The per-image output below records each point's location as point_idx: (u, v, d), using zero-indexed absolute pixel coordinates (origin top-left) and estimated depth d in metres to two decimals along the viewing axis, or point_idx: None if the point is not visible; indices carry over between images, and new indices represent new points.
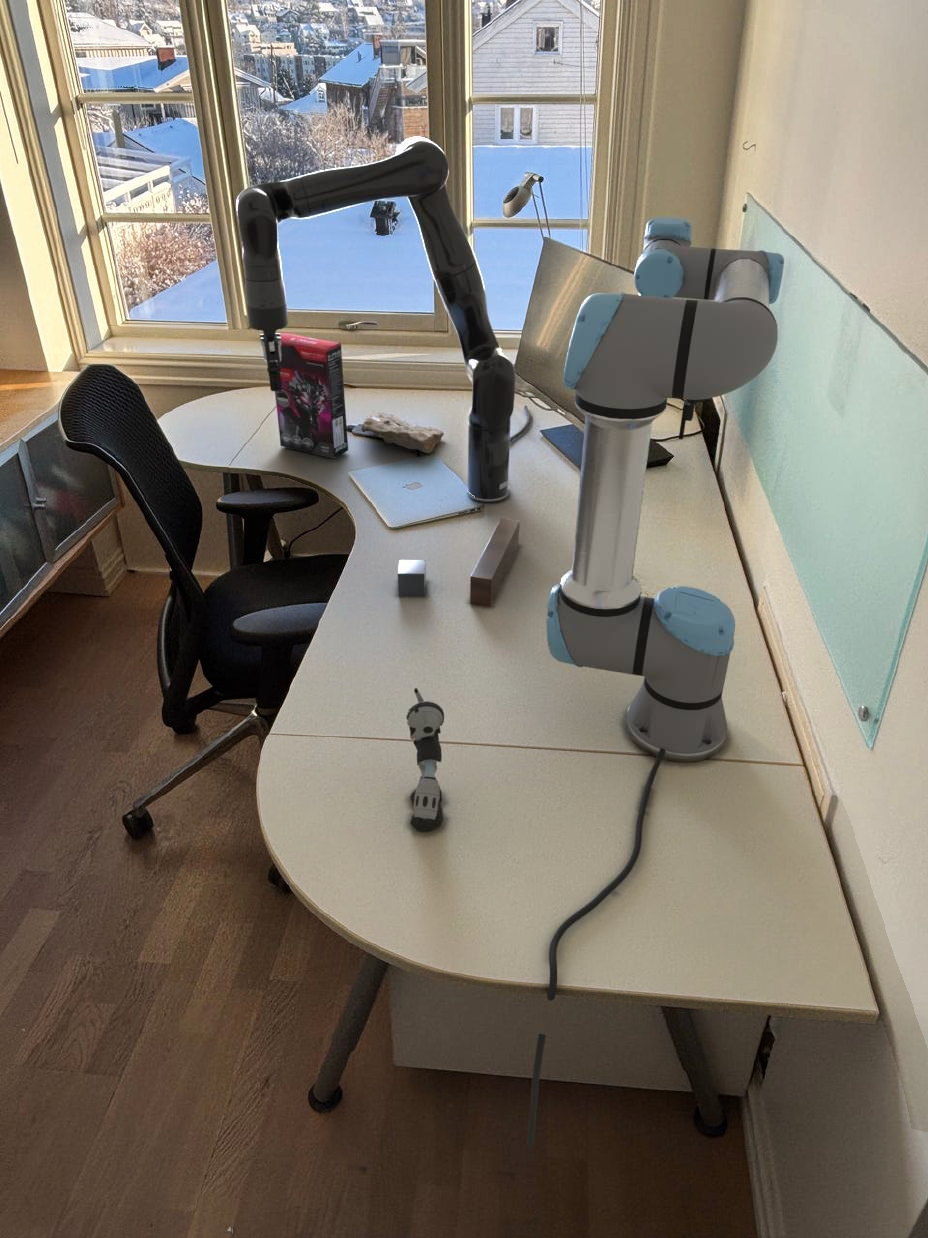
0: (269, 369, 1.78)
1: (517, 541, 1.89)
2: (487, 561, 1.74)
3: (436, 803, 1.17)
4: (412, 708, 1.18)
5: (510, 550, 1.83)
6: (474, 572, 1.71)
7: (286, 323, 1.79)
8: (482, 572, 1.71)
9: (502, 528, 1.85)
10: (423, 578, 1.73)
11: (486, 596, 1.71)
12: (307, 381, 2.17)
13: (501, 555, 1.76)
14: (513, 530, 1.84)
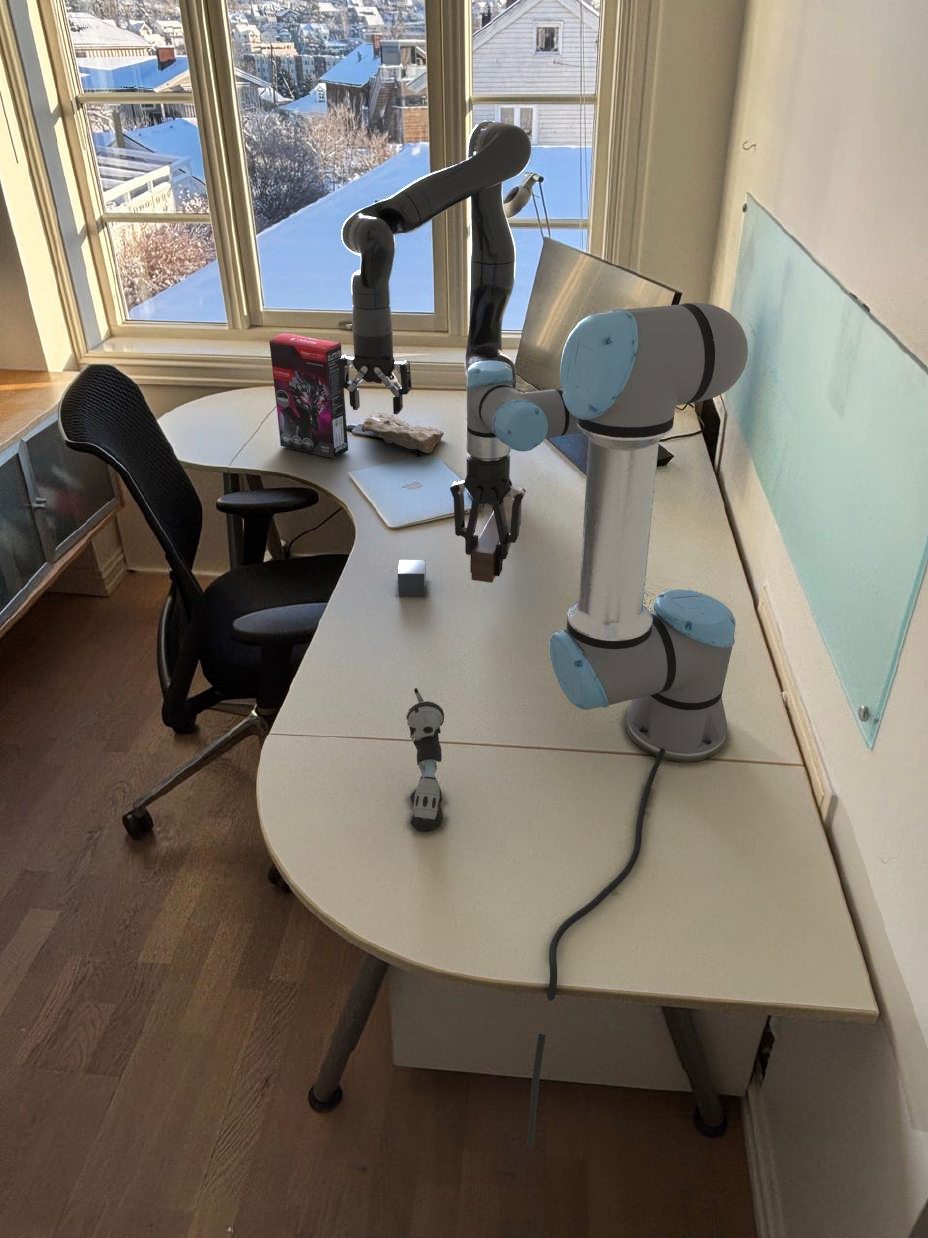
0: (408, 390, 1.78)
1: None
2: (489, 537, 1.71)
3: (436, 803, 1.17)
4: (412, 708, 1.18)
5: None
6: (475, 547, 1.67)
7: None
8: (483, 547, 1.67)
9: (504, 505, 1.82)
10: (423, 578, 1.73)
11: (488, 571, 1.67)
12: (307, 381, 2.17)
13: None
14: None
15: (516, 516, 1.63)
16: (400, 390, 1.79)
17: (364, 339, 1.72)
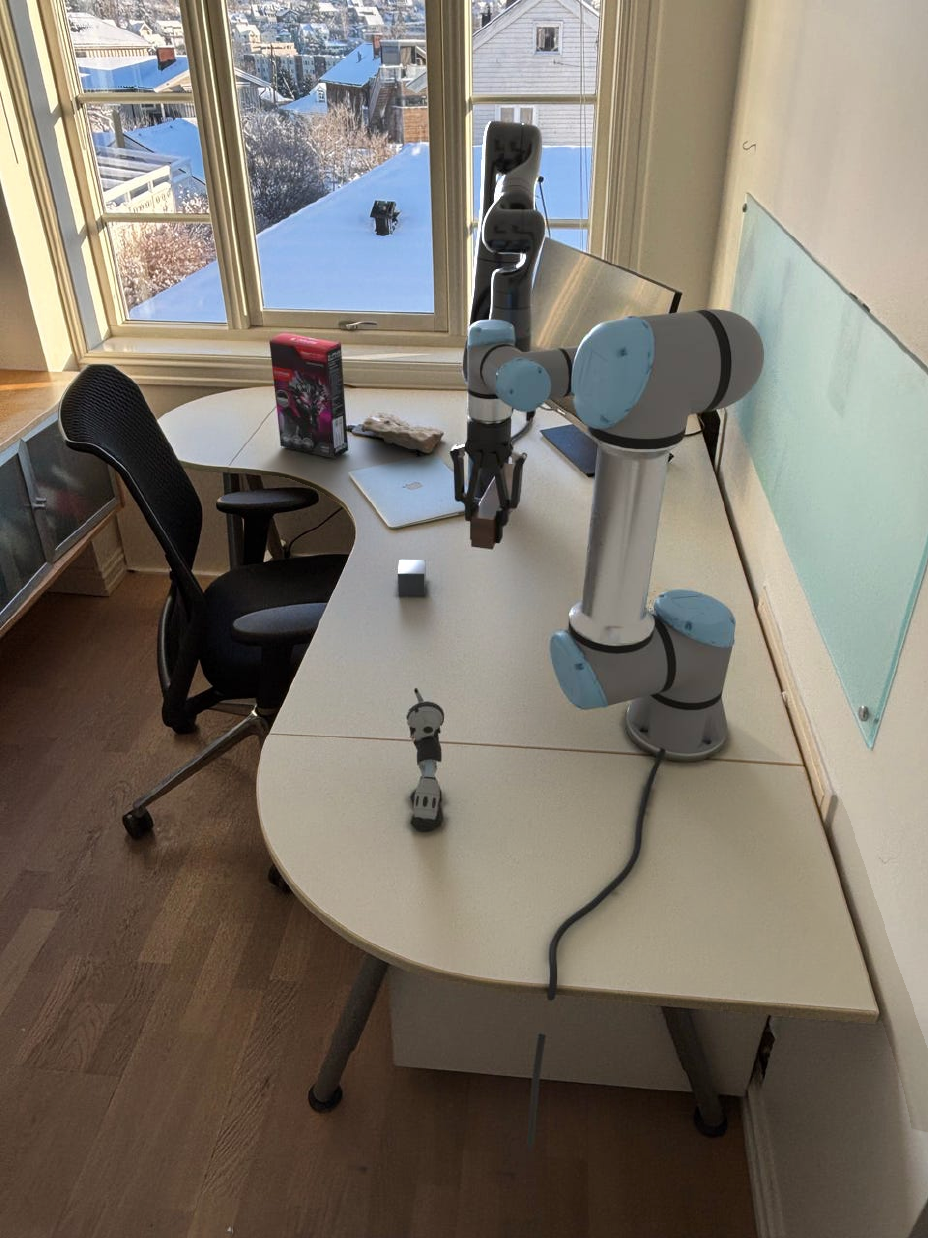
0: None
1: None
2: (489, 503, 1.67)
3: (436, 803, 1.17)
4: (412, 708, 1.18)
5: None
6: (475, 513, 1.64)
7: None
8: (483, 513, 1.64)
9: None
10: (423, 578, 1.73)
11: (488, 538, 1.64)
12: (307, 381, 2.17)
13: None
14: None
15: (517, 481, 1.59)
16: None
17: None
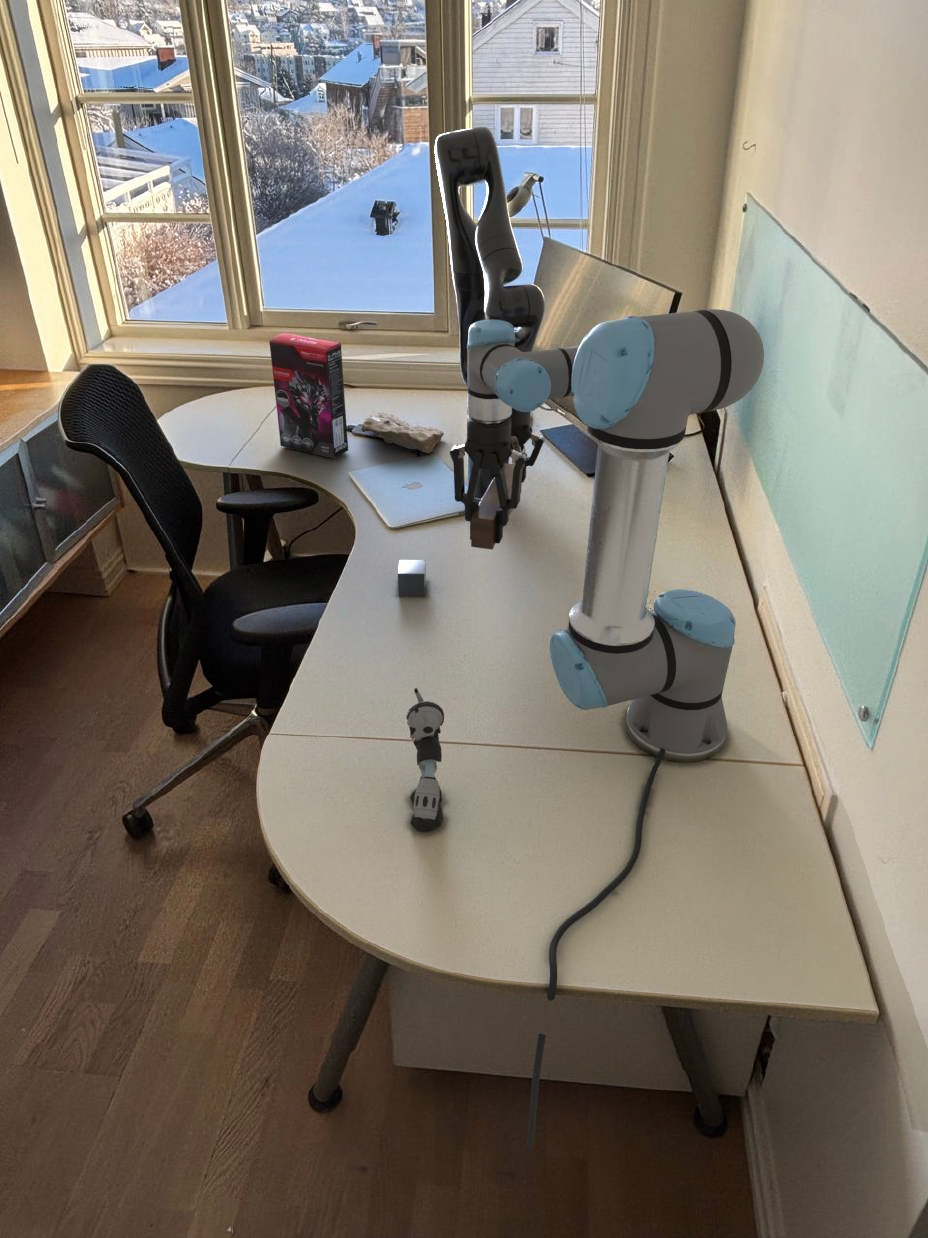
0: None
1: None
2: (489, 503, 1.67)
3: (436, 803, 1.17)
4: (412, 708, 1.18)
5: None
6: (475, 513, 1.64)
7: None
8: (483, 513, 1.64)
9: None
10: (423, 578, 1.73)
11: (488, 538, 1.64)
12: (307, 381, 2.17)
13: None
14: None
15: (517, 481, 1.59)
16: (525, 461, 1.76)
17: None
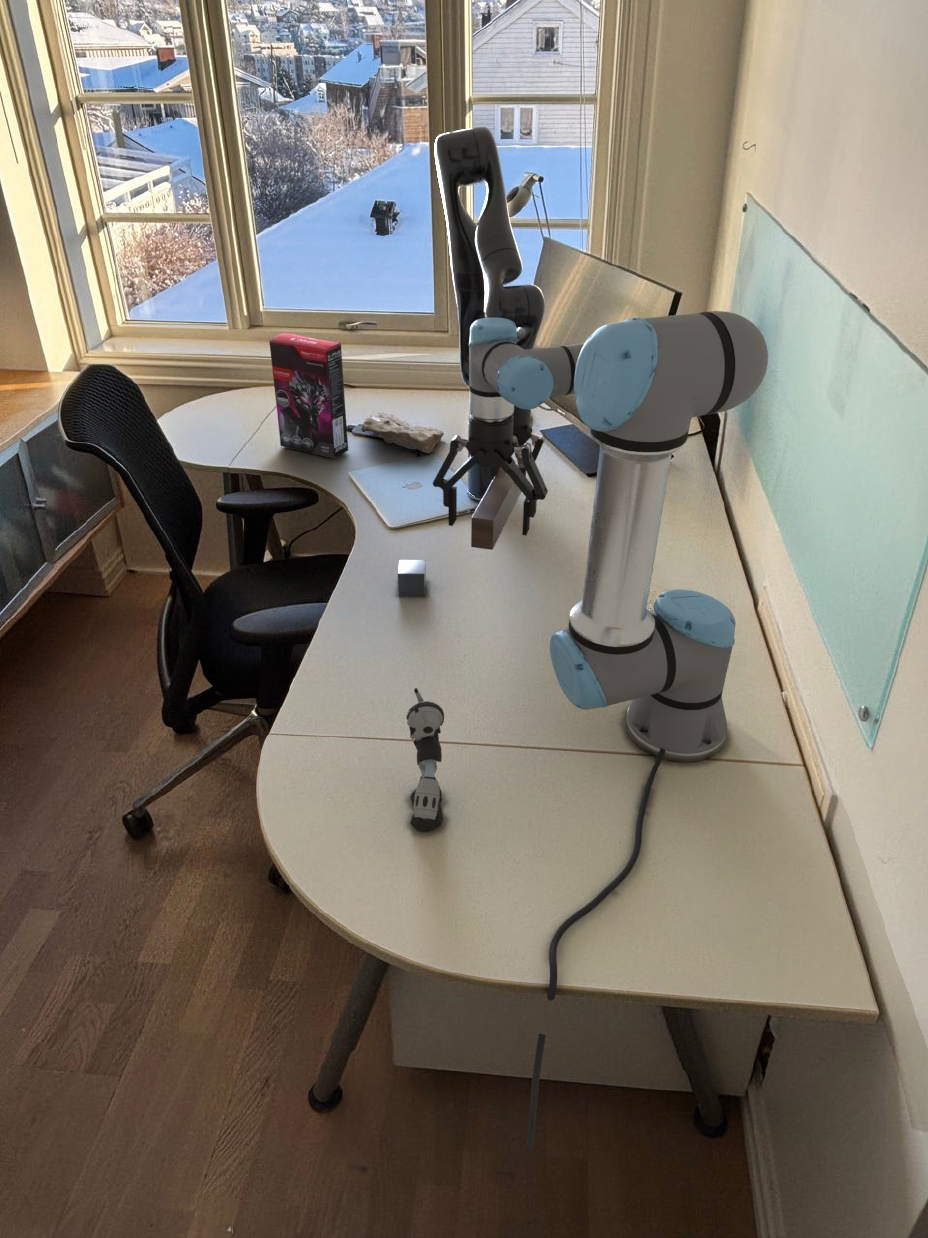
0: None
1: None
2: (489, 503, 1.67)
3: (436, 803, 1.17)
4: (412, 708, 1.18)
5: (512, 494, 1.76)
6: (475, 513, 1.64)
7: None
8: (483, 513, 1.64)
9: None
10: (423, 578, 1.73)
11: (488, 538, 1.64)
12: (307, 381, 2.17)
13: (503, 497, 1.69)
14: None
15: (532, 471, 1.57)
16: None
17: None
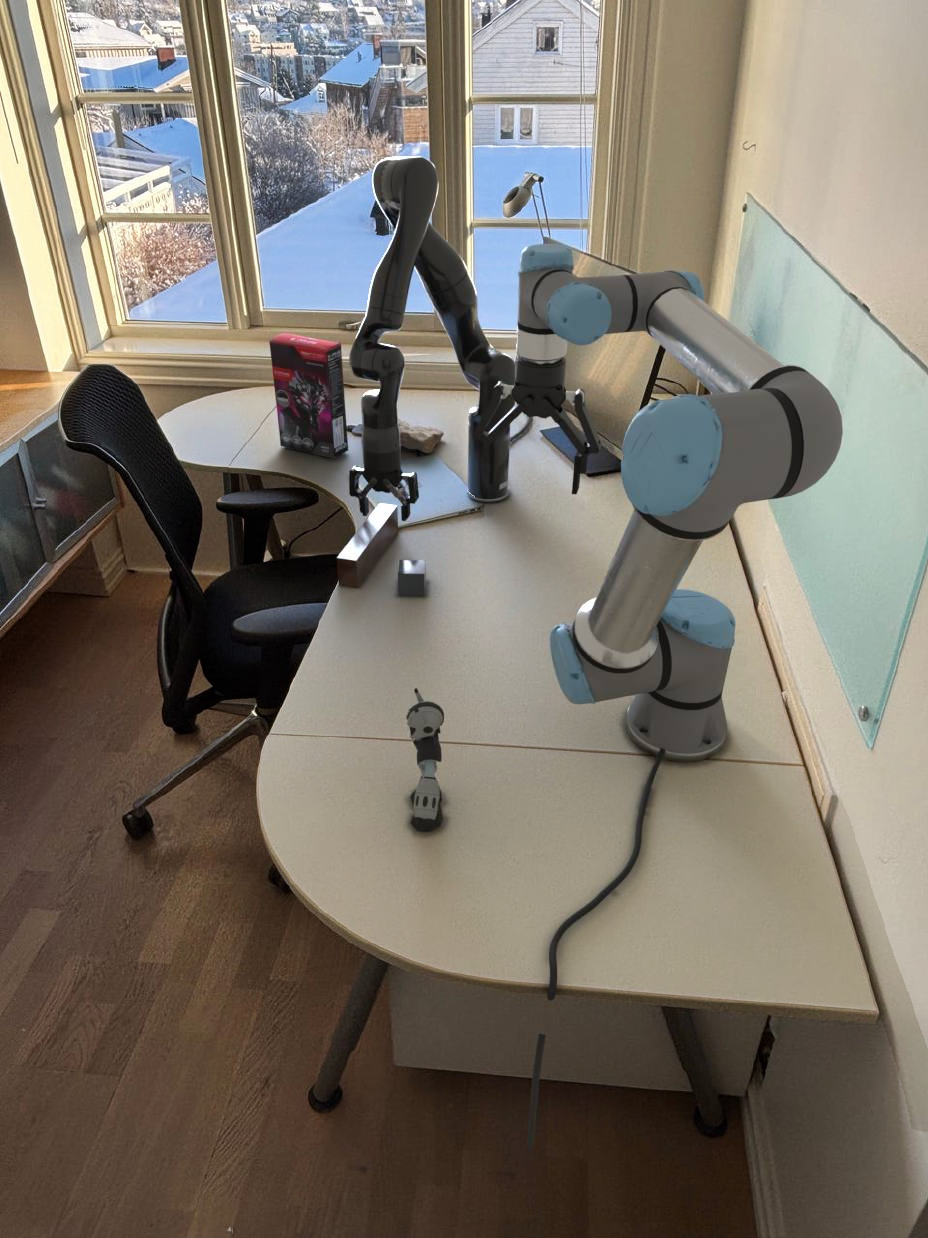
0: (415, 500, 1.86)
1: (396, 525, 1.94)
2: (356, 544, 1.79)
3: (436, 803, 1.17)
4: (412, 708, 1.18)
5: (385, 533, 1.88)
6: (341, 554, 1.76)
7: None
8: (348, 553, 1.76)
9: (378, 512, 1.90)
10: (423, 578, 1.73)
11: (353, 577, 1.76)
12: (307, 381, 2.17)
13: (371, 538, 1.81)
14: (389, 514, 1.90)
15: (586, 421, 1.40)
16: (408, 499, 1.87)
17: (374, 455, 1.80)
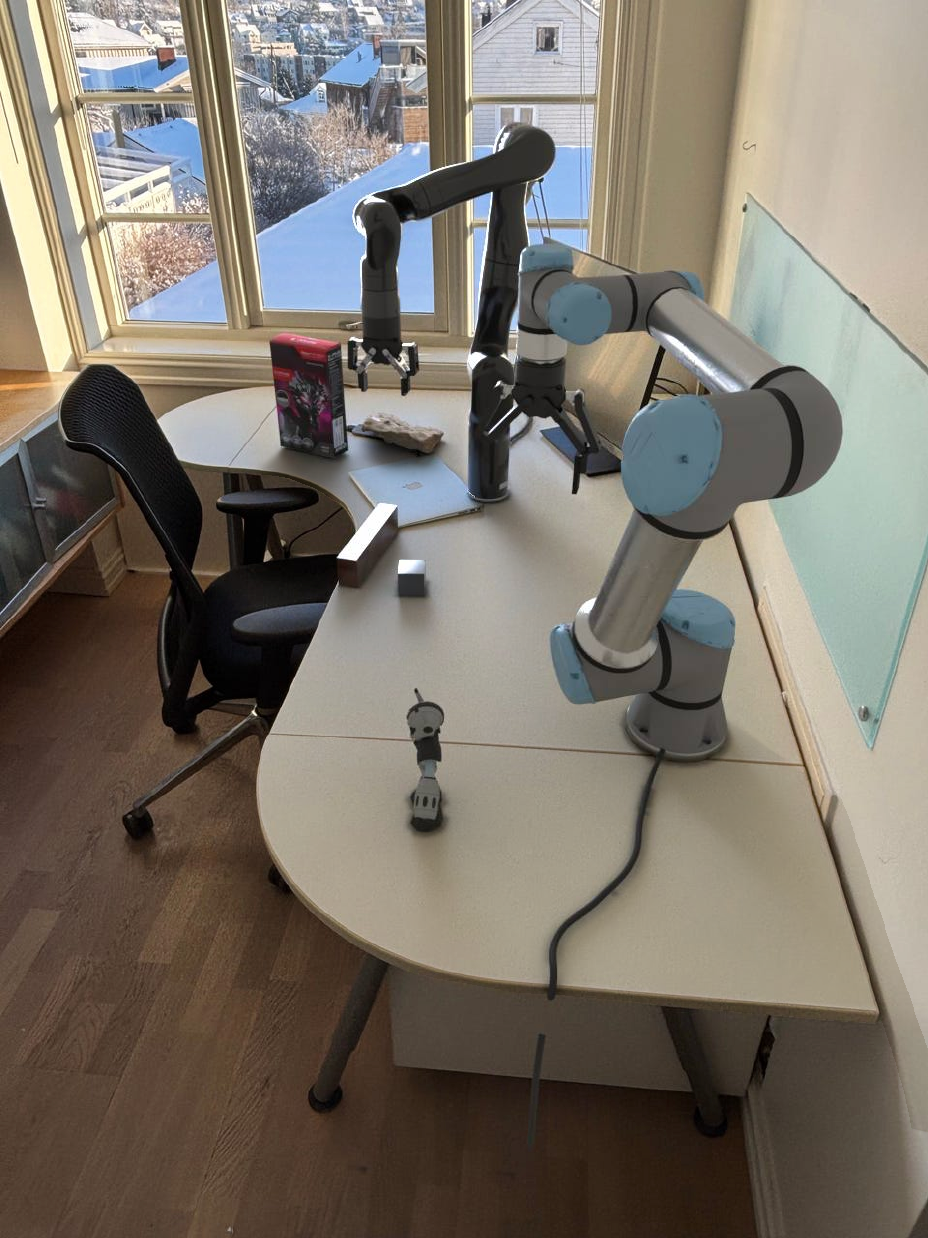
0: (415, 372, 1.81)
1: (396, 525, 1.94)
2: (356, 544, 1.79)
3: (436, 803, 1.17)
4: (412, 708, 1.18)
5: (385, 533, 1.88)
6: (341, 554, 1.76)
7: None
8: (348, 553, 1.76)
9: (378, 512, 1.90)
10: (423, 578, 1.73)
11: (353, 577, 1.76)
12: (307, 381, 2.17)
13: (371, 538, 1.81)
14: (389, 514, 1.90)
15: (586, 421, 1.40)
16: (408, 372, 1.81)
17: (373, 321, 1.75)
